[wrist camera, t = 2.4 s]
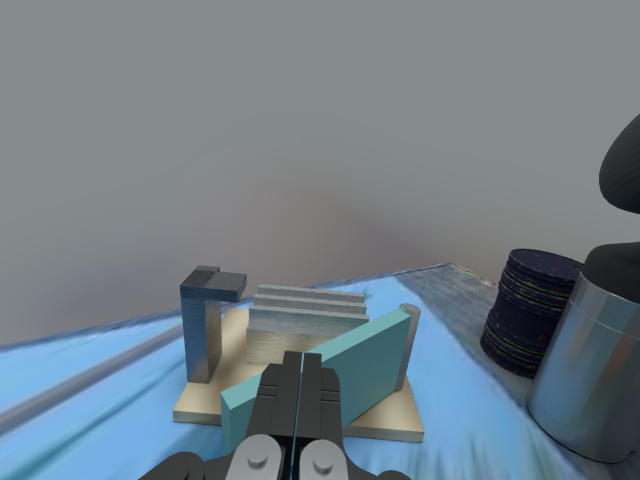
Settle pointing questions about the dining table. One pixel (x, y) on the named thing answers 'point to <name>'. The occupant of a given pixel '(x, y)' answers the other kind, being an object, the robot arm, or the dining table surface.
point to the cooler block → (261, 319)
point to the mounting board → (205, 400)
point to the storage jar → (528, 309)
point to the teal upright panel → (340, 372)
